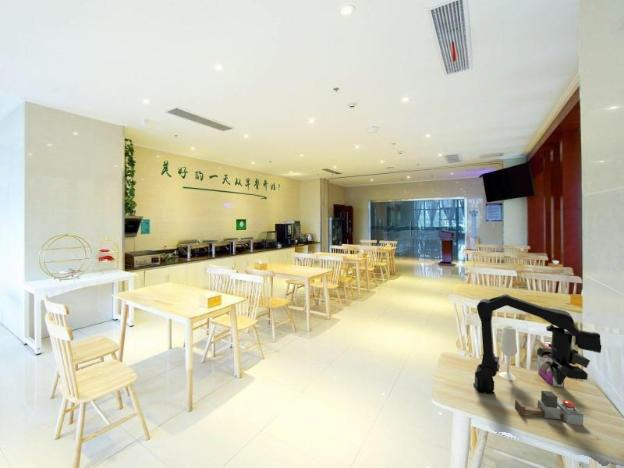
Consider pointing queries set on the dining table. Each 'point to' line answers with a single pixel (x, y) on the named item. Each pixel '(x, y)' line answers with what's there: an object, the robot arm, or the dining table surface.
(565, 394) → the dining table surface
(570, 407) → the red plunger button
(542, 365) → the candy bar box
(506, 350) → the champagne flute
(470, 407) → the dining table surface
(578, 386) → the dining table surface
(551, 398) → the carriage
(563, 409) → the button housing
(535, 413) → the rail
